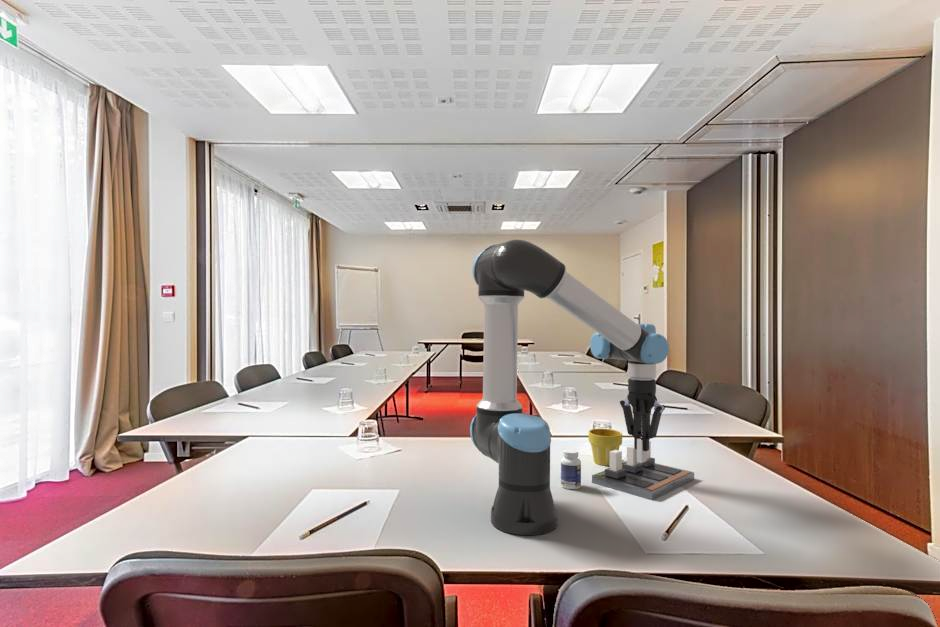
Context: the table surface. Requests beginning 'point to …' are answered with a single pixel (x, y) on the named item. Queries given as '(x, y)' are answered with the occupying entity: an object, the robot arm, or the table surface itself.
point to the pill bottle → (570, 470)
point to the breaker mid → (632, 461)
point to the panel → (647, 481)
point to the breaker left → (615, 465)
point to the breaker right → (649, 457)
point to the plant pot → (604, 444)
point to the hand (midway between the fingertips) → (641, 461)
